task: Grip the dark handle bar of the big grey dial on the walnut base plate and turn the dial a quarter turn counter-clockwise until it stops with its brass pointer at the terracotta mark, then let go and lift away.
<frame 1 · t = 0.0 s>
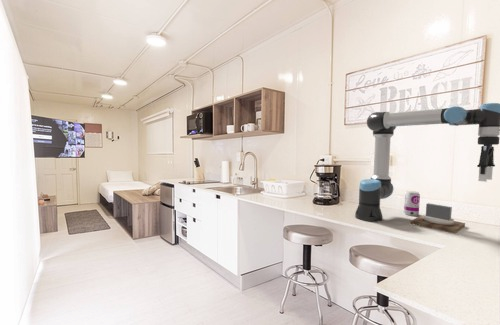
hand: (485, 180, 121), 28 cm above the countertop, tool pointing down, fingers open, 13 cm apart
supplement can: (411, 214, 164), on the countertop
dial base: (437, 225, 142), on the countertop
dial: (438, 213, 141), point 7 cm above the countertop, hinge at 0.0°
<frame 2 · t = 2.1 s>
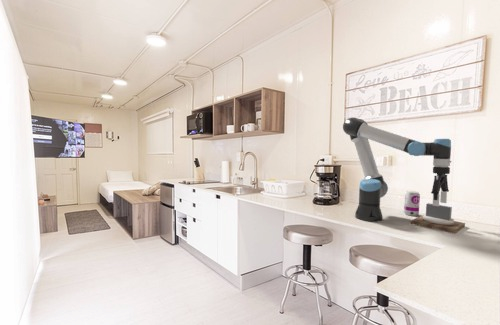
hand: (439, 204, 141), 12 cm above the countertop, tool pointing down, fingers open, 13 cm apart
nothing on the countertop moved.
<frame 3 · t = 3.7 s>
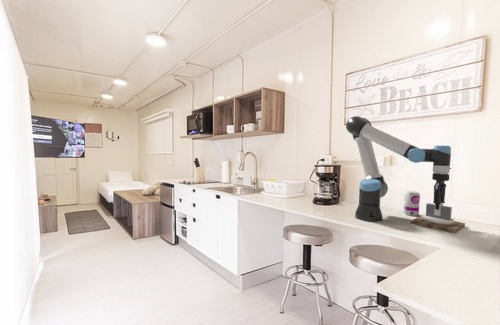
hand: (438, 214, 141), 6 cm above the countertop, tool pointing down, fingers closed on dial, 3 cm apart
dial: (438, 213, 141), point 7 cm above the countertop, hinge at 0.0°, touching gripper
everything else where it was.
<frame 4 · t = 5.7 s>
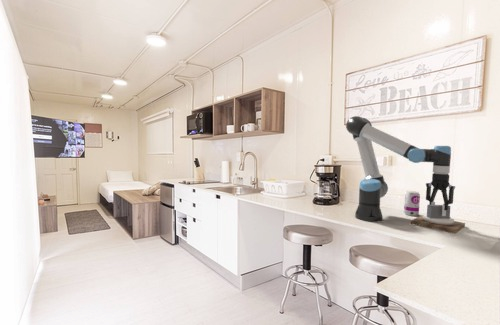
hand: (438, 214, 141), 6 cm above the countertop, tool pointing down, fingers closed on dial, 5 cm apart
dial: (438, 213, 141), point 7 cm above the countertop, hinge at 54.6°, touching gripper
everything else where it was.
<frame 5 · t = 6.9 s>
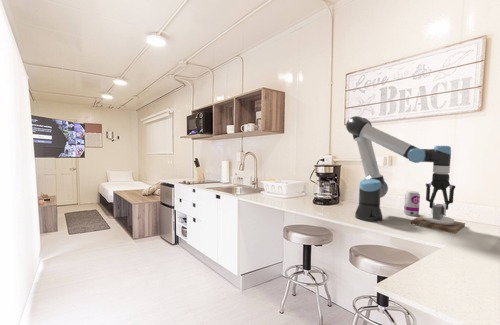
hand: (438, 214, 141), 6 cm above the countertop, tool pointing down, fingers closed on dial, 5 cm apart
dial: (438, 213, 141), point 7 cm above the countertop, hinge at 95.0°, touching gripper
everything else where it was.
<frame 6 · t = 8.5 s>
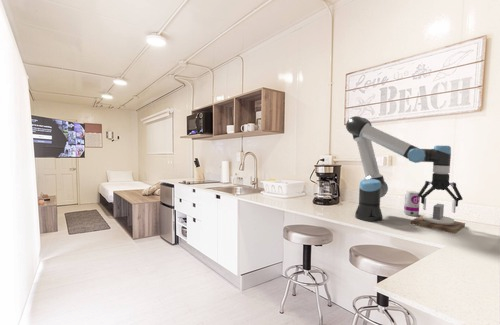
hand: (438, 210, 141), 8 cm above the countertop, tool pointing down, fingers open, 13 cm apart
dial: (438, 213, 141), point 7 cm above the countertop, hinge at 95.6°
everything else where it was.
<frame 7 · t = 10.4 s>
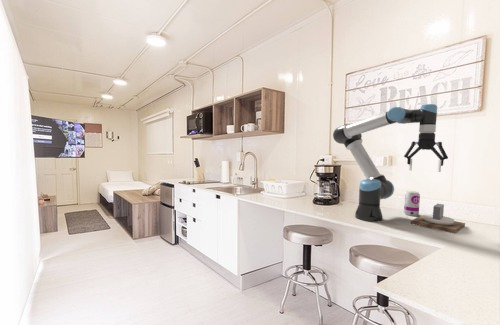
hand: (424, 171, 140), 30 cm above the countertop, tool pointing down, fingers open, 13 cm apart
nothing on the countertop moved.
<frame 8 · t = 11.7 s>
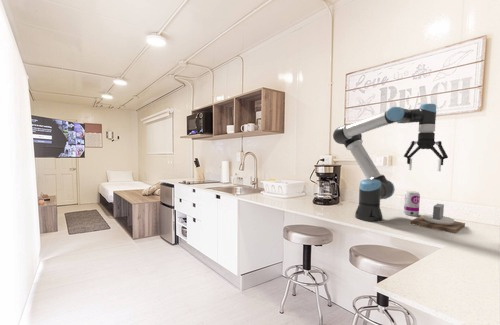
hand: (424, 170, 140), 31 cm above the countertop, tool pointing down, fingers open, 13 cm apart
nothing on the countertop moved.
at the end: dial at +96° (first picture: +0°); the gripper is holding nothing; supplement can moved 0.2 cm from its start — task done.
